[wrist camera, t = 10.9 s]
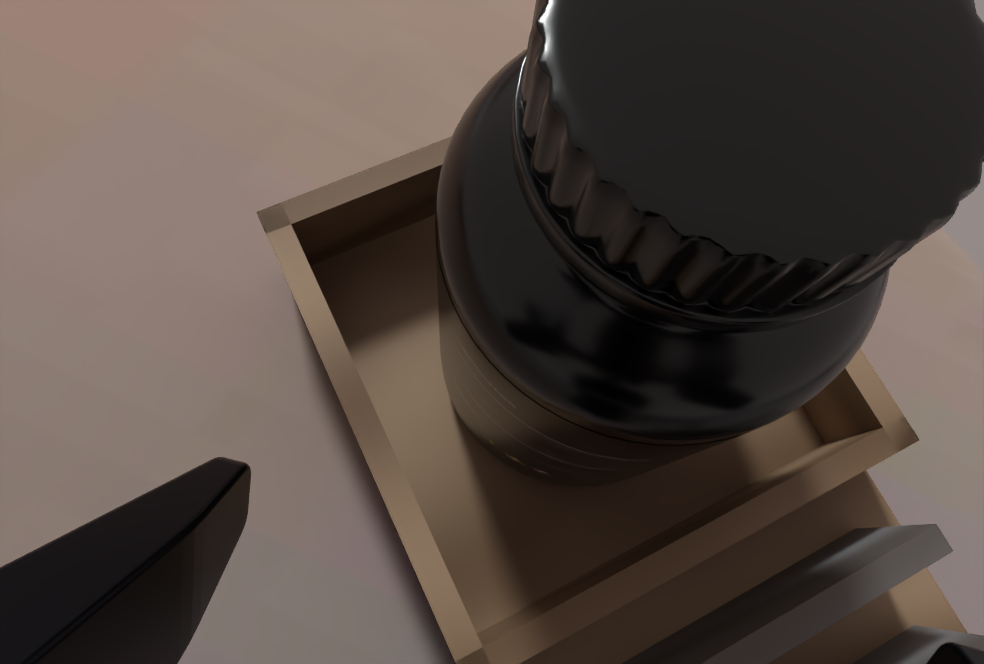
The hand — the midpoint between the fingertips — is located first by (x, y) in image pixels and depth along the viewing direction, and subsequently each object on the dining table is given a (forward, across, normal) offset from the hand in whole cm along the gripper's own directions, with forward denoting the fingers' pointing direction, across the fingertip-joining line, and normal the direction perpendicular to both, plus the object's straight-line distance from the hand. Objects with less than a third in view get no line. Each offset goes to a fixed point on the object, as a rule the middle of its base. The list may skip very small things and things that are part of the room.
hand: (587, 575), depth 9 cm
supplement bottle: (+10, 0, +2) cm, 10 cm away
